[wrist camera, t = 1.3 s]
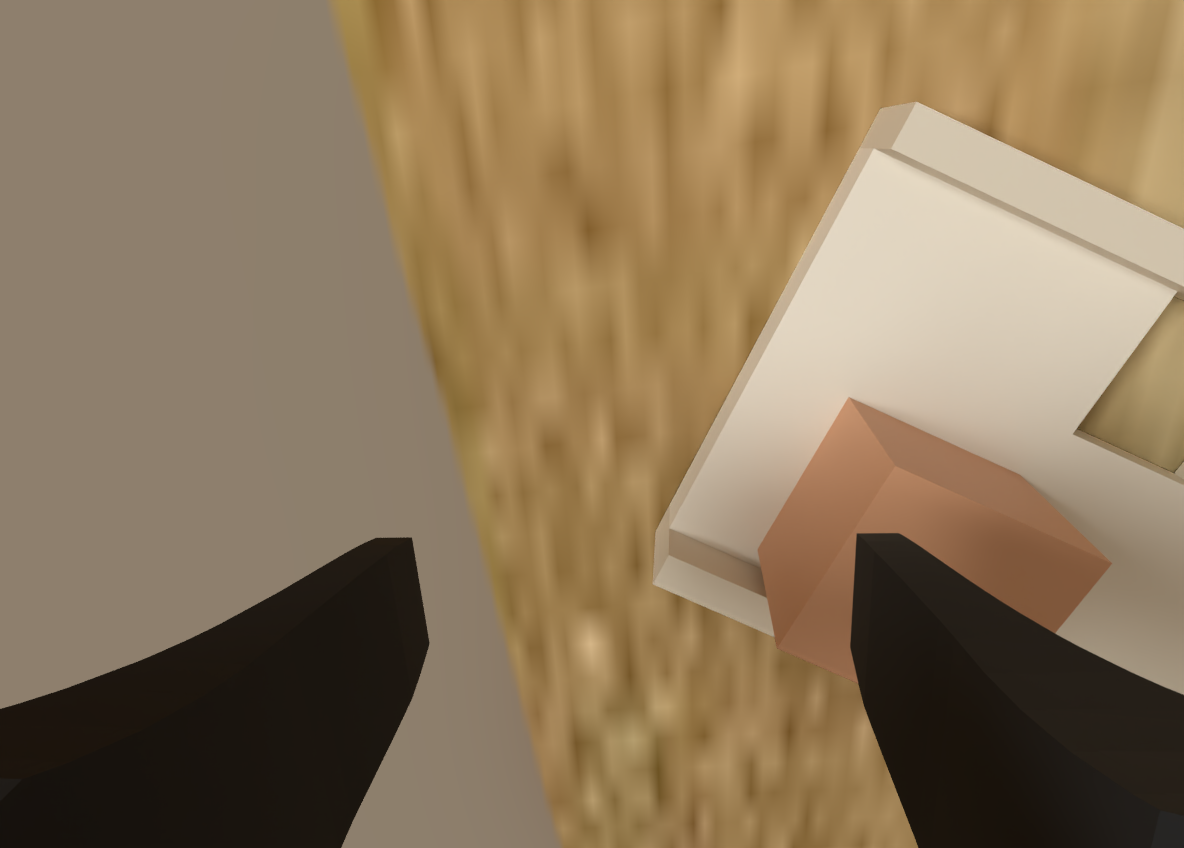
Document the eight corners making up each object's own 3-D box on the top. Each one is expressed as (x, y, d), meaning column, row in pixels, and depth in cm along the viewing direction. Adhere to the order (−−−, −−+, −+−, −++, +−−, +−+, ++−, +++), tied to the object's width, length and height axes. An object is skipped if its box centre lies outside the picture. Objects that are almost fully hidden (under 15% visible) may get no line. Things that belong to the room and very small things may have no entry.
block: (1019, 474, 20) (1112, 563, 16) (915, 619, 22) (973, 733, 17) (848, 396, 20) (895, 465, 15) (757, 549, 21) (776, 648, 17)
